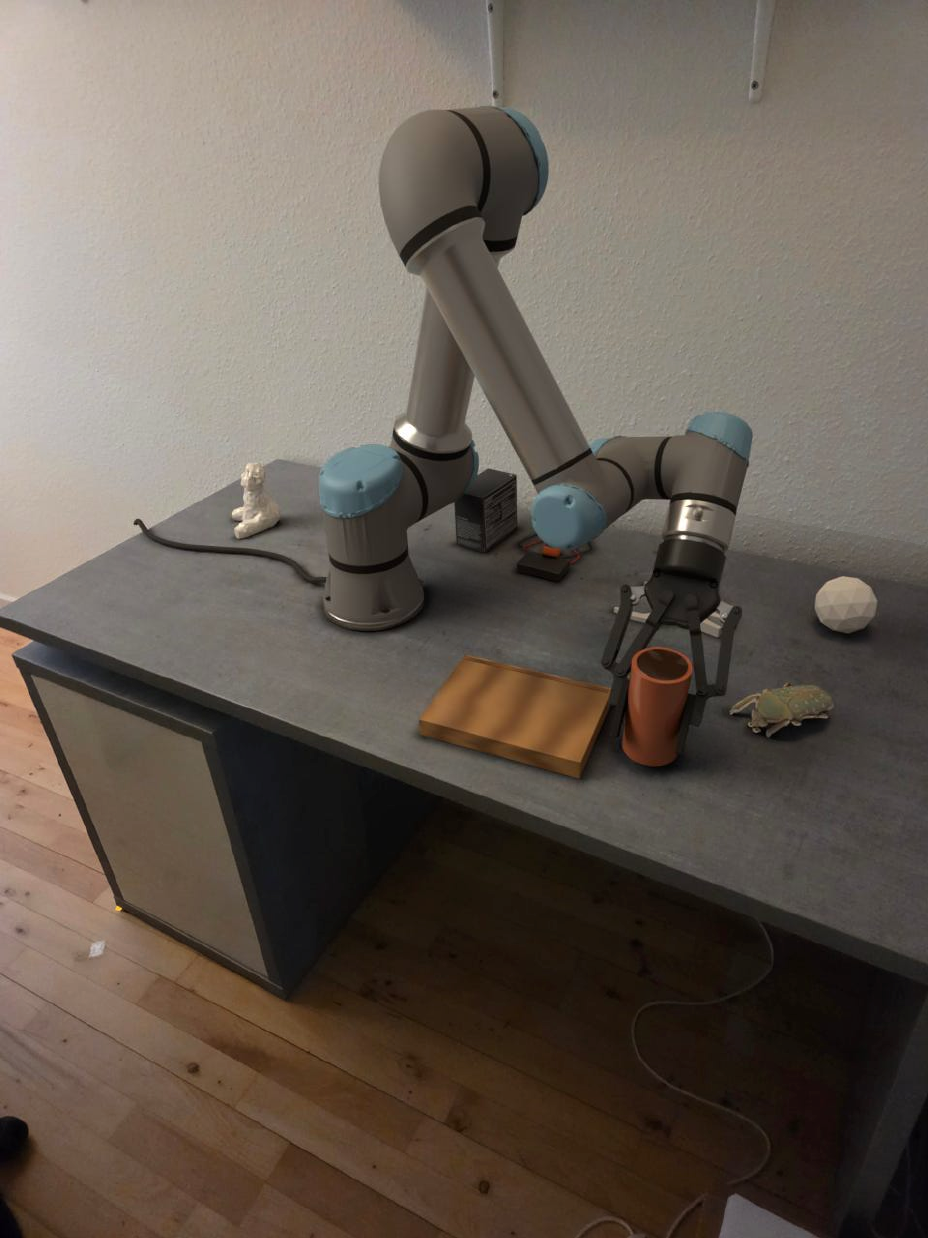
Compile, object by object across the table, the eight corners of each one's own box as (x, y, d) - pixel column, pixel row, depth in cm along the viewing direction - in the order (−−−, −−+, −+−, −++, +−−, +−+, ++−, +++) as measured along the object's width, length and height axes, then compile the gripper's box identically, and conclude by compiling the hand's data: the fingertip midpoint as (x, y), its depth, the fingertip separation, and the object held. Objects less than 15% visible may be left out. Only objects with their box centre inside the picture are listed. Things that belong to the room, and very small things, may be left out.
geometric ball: (821, 635, 115) (816, 580, 115) (883, 631, 110) (877, 574, 111) (812, 635, 108) (806, 578, 109) (877, 631, 104) (871, 570, 104)
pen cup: (615, 757, 90) (625, 674, 83) (629, 722, 95) (639, 641, 88) (672, 772, 88) (686, 688, 81) (683, 736, 93) (697, 653, 86)
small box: (488, 520, 142) (487, 466, 137) (519, 529, 139) (519, 474, 133) (453, 544, 135) (451, 488, 130) (485, 554, 132) (484, 496, 126)
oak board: (419, 734, 96) (418, 718, 94) (465, 669, 106) (465, 653, 105) (579, 779, 89) (580, 762, 87) (611, 704, 99) (612, 687, 98)
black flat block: (546, 521, 141) (546, 504, 139) (607, 537, 136) (608, 520, 134) (491, 564, 129) (491, 546, 127) (556, 584, 123) (557, 565, 122)
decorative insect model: (738, 678, 101) (751, 652, 97) (824, 710, 98) (840, 685, 95) (724, 728, 95) (737, 703, 92) (814, 763, 93) (832, 739, 89)
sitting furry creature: (232, 517, 147) (219, 456, 140) (279, 510, 149) (268, 449, 142) (236, 540, 139) (222, 477, 133) (285, 532, 141) (274, 469, 135)
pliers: (646, 575, 122) (740, 607, 114) (645, 584, 123) (738, 616, 114) (613, 603, 115) (710, 639, 107) (613, 612, 116) (708, 648, 108)
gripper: (605, 522, 90) (555, 719, 87) (785, 552, 83) (738, 767, 80) (613, 542, 97) (567, 725, 93) (780, 572, 90) (736, 770, 87)
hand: (646, 744), depth 87 cm, fingers closed on pen cup, 6 cm apart
